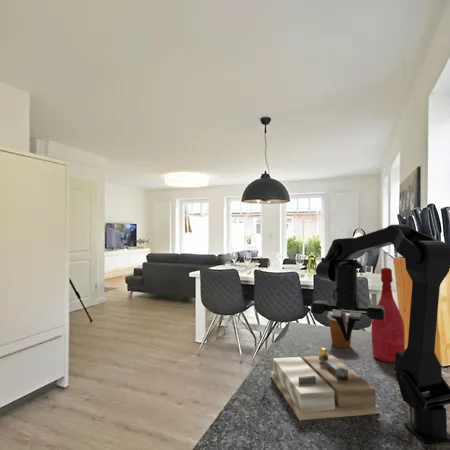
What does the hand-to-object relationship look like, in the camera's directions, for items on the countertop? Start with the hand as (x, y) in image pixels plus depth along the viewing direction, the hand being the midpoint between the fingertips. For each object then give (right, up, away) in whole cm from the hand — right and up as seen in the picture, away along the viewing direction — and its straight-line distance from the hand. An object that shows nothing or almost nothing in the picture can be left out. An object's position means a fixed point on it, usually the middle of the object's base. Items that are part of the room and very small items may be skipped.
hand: (347, 341), depth 92 cm
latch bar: (-6, -6, -4) cm, 9 cm away
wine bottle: (+21, -13, +19) cm, 31 cm away
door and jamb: (-9, -12, -5) cm, 16 cm away
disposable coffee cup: (+10, -13, +33) cm, 36 cm away
